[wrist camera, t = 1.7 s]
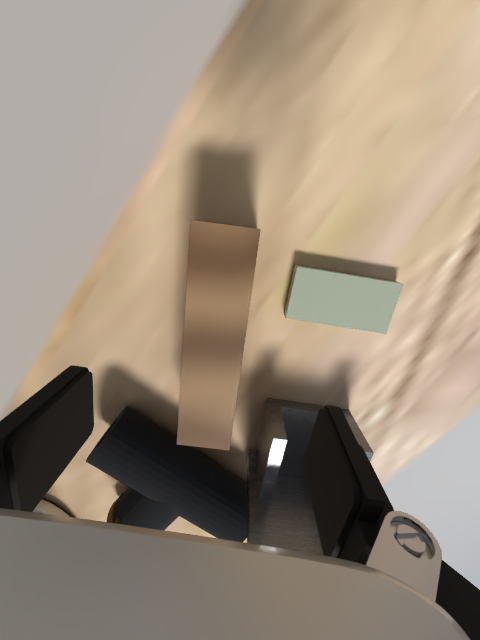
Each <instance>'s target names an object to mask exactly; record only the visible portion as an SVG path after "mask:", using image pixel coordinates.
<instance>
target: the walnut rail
mask: <svg viewBox="0 0 480 640" xmlns="http://www.w3.org/2000/svg"><path fill="white" fill-rule="evenodd" d="M259 236H260V229H256V228H248V227H241V226H233V225H225V224H218V223H210V222H203V221H195V220H191V224H190V240H189V255H188V271H187V287H186V303H185V319H184V335H183V351H182V367H181V383H180V399H179V414H178V430H177V445H186V446H195V447H204V448H212V449H221V450H229V449H230V442H231V435H232V428H233V421H234V414H235V407H236V400H237V393H238V385H239V378H240V371H241V364H242V357H243V350H244V343H245V336H246V329H247V322H248V314H249V307H250V300H251V293H252V286H253V279H254V272H255V265H256V258H257V251H258V243H259Z"/></svg>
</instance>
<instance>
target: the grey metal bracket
mask: <svg viewBox="0 0 480 640" xmlns="http://www.w3.org/2000/svg"><path fill="white" fill-rule="evenodd" d="M321 408H323V409H324V406H318V405H311V404H304V403H298V402H291V401H284V400H277V399H271V398H268V401H267V405H266V409H265V414H264V418H263V423H262V427H261V432H260V436H259V440H258V445H257V449H256V450H251V449H249V450H248V455H247V543H250V544H257V545H263V546H270V547H276V548H283V549H289V550H295V551H300V552H306V553H312V554H318V555H323V551H322V546H321V542H320V537H319V533H318V528H317V524H316V519H315V515H314V510H313V506H312V501H311V497H310V492H309V487H308V483H307V478H306V474H305V469H304V457H305V454H306V451H307V448H308V444H309V441H310V438H311V435H312V432H313V428H314V425H315V422H316V419H317V416H318V412H319V410H320V409H321ZM342 411H343V413H344V415H345V417H346V420H347V422H348V424H349V426H350V428H351V430H352V432H353V434H354V436H355V438H356V440H357V442H358V444H359V445H360V446H362V448H363V449H364V451H365V453H366V455H367V457H368V459H369V461H371V458H372V456H373V451H372V449H371V448H370V446H369V444H368V442H367V441H366V439H365V437H364V435H363V434H362V432H361V430H360V429H359V427H358V425H357V423H356V422H355V420H354V418H353V416H352V415H351V413H350V411H349V410H345V409H342Z"/></svg>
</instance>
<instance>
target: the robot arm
mask: <svg viewBox="0 0 480 640" xmlns="http://www.w3.org/2000/svg"><path fill="white" fill-rule="evenodd" d="M93 427H94V413H93V378H92V373H91V372H89V370H88V368H86V367H80V366H70V367H68V368H67V369H66V370H65V371H63V372H62V373H61V374H59V375H58V376H57V377H56V378H54V379H53V380H52V381H51V382H49V383H48V384H47V385H46V386H44V387H43V388H42V389H41V390H39V391H38V392H37V393H35V394H34V395H33V396H32V397H30V398H29V399H28V400H27V401H25V402H24V403H23V404H22V405H20V406H19V407H18V408H17V409H15V410H14V411H13V412H11V413H10V414H9V415H8V416H6V417H5V418H4V419H3V420H1V421H0V640H480V590H479V589H478V588H477V587H475V586H474V585H473V584H471V583H470V582H469V581H468V580H467V579H465V578H464V577H463V576H462V575H460V574H459V573H458V572H457V571H455V570H454V569H453V568H451V567H450V566H449V565H448V564H447V563H445V562H444V561H443V560H442V553H441V549H440V546H439V544H438V541H437V540H436V539H435V537H434V535H433V534H432V533H431V532H430V530H428V528H427V527H426V526H425V525H424V524H423V523H421V522H420V521H419V520H418V519H416V518H415V517H413V516H411V515H409V514H407V513H404V512H401V511H394V509H393V507H392V505H391V503H390V501H389V499H388V497H387V495H386V493H385V491H384V489H383V487H382V485H381V483H380V481H379V479H378V477H377V475H376V473H375V471H374V469H373V467H372V465H371V463H370V461H369V459H368V457H367V455H366V453H365V451H364V449H363V448H362V446H360V445H359V444H358V442H357V440H356V438H355V436H354V434H353V432H352V430H351V428H350V426H349V424H348V422H347V420H346V417H345V415H344V413H343V411H342V409H341V408H339V407H334V406H327V405H326V406H325V407H324V409H323V408H321V409H320V410H319V412H318V416H317V419H316V422H315V425H314V428H313V432H312V435H311V438H310V441H309V444H308V448H307V451H306V454H305V457H304V469H305V474H306V478H307V483H308V487H309V492H310V497H311V501H312V506H313V510H314V515H315V519H316V524H317V528H318V533H319V537H320V542H321V546H322V551H323V555H318V554H312V553H306V552H300V551H295V550H289V549H283V548H276V547H270V546H263V545H257V544H250V543H244V542H237V541H230V540H224V539H217V538H211V537H204V536H197V535H191V534H184V533H177V532H170V531H163V530H156V529H150V528H143V527H136V526H129V525H122V524H115V523H108V522H101V521H94V520H87V519H79V518H72V517H70V516H69V515H67V514H66V513H65V512H64V511H63V510H61V509H60V508H58V507H57V506H55V505H53V504H52V503H49V502H47V501H45V500H43V499H42V498H43V497H44V496H45V494H46V493H47V492H48V490H49V489H50V488H51V486H52V485H53V484H54V482H55V481H56V480H57V478H58V477H59V476H60V475H61V473H62V472H63V471H64V469H65V468H66V467H67V465H68V464H69V463H70V461H71V460H72V459H73V457H74V456H75V455H76V453H77V452H78V451H79V449H80V448H81V447H82V445H83V444H84V443H85V441H86V440H87V439H88V437H89V436H90V435H91V433H92V431H93Z"/></svg>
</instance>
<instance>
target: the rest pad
mask: <svg viewBox="0 0 480 640" xmlns="http://www.w3.org/2000/svg"><path fill="white" fill-rule="evenodd" d="M402 287H403V284H402V283H399V282H395V281H389V280H383V279H377V278H371V277H365V276H359V275H353V274H347V273H341V272H335V271H329V270H323V269H317V268H311V267H305V266H299V265H295V267H294V271H293V276H292V280H291V285H290V289H289V294H288V298H287V303H286V307H285V312H284V315H285V318H289V319H295V320H301V321H308V322H314V323H320V324H327V325H333V326H339V327H345V328H352V329H358V330H364V331H371V332H377V333H383V334H386V332H387V329H388V326H389V323H390V320H391V318H392V315H393V312H394V309H395V306H396V304H397V301H398V298H399V295H400V292H401V290H402Z"/></svg>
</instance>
